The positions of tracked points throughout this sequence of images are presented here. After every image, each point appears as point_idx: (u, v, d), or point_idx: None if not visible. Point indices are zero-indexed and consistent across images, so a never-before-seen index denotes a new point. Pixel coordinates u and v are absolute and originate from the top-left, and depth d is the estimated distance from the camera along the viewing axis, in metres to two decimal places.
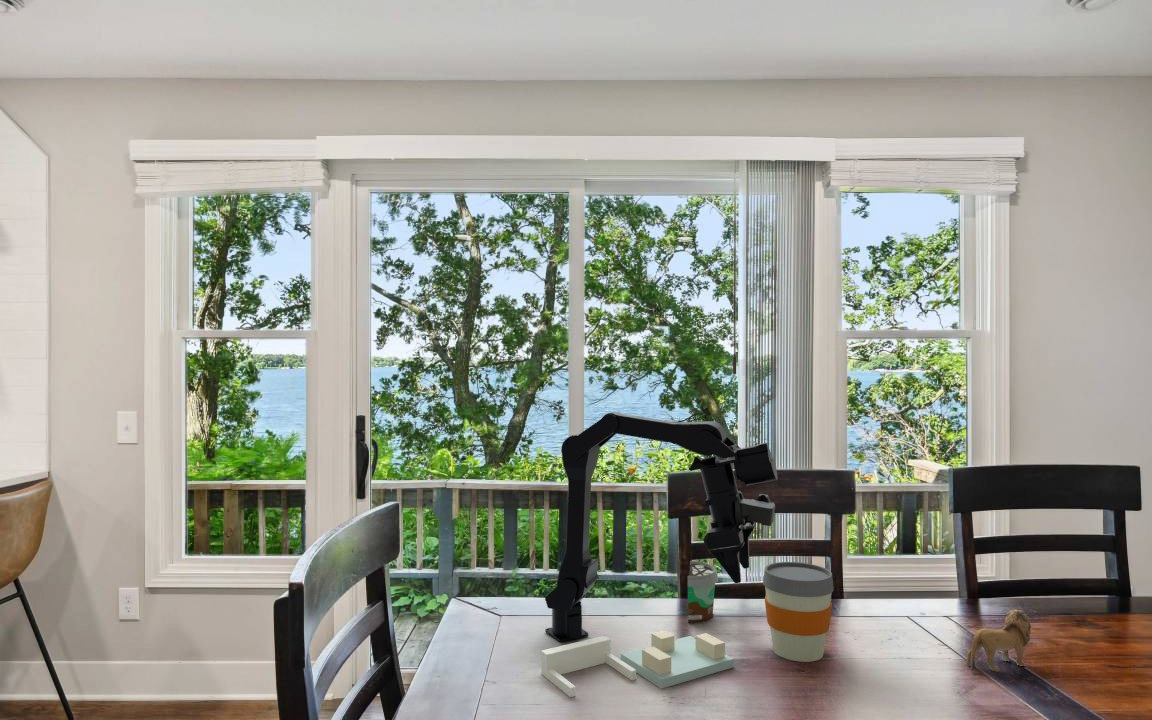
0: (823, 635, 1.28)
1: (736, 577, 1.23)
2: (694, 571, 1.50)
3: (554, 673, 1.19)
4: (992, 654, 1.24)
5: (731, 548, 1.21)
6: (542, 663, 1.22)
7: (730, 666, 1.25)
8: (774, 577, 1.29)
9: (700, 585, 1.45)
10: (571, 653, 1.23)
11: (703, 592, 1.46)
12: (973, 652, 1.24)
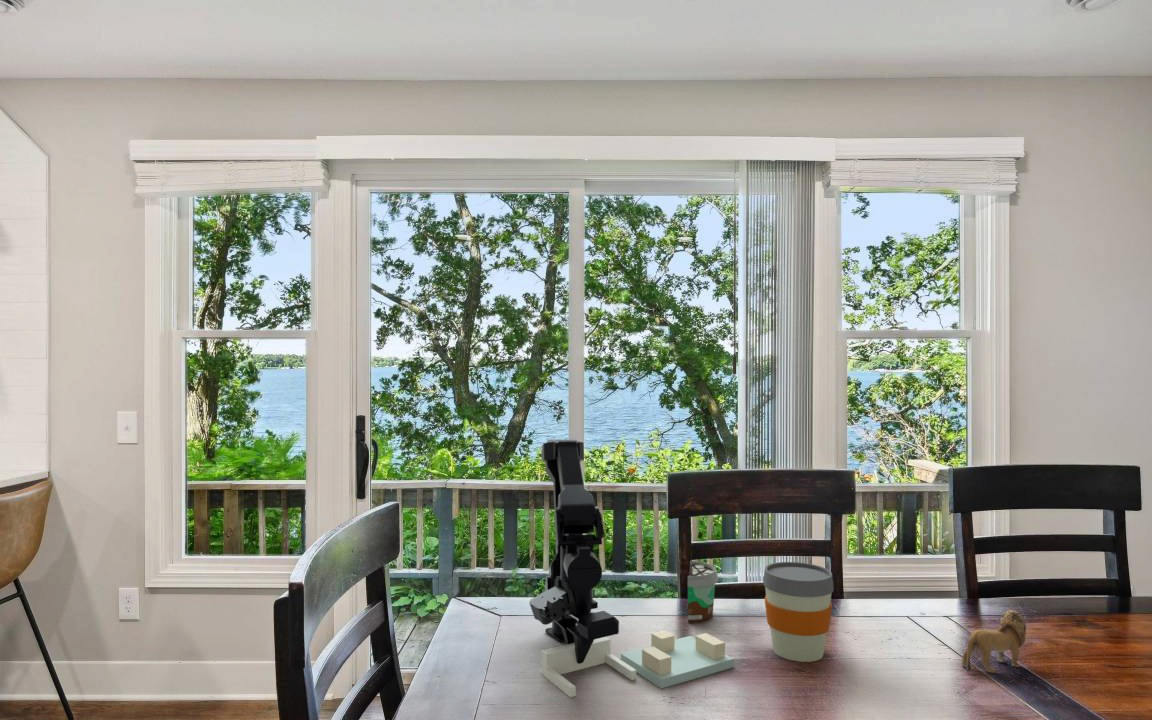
0: (823, 635, 1.28)
1: None
2: (694, 571, 1.50)
3: (554, 673, 1.19)
4: (988, 655, 1.23)
5: None
6: (542, 663, 1.22)
7: (730, 666, 1.25)
8: (774, 577, 1.29)
9: (700, 585, 1.45)
10: (571, 653, 1.23)
11: (703, 592, 1.46)
12: (969, 653, 1.24)
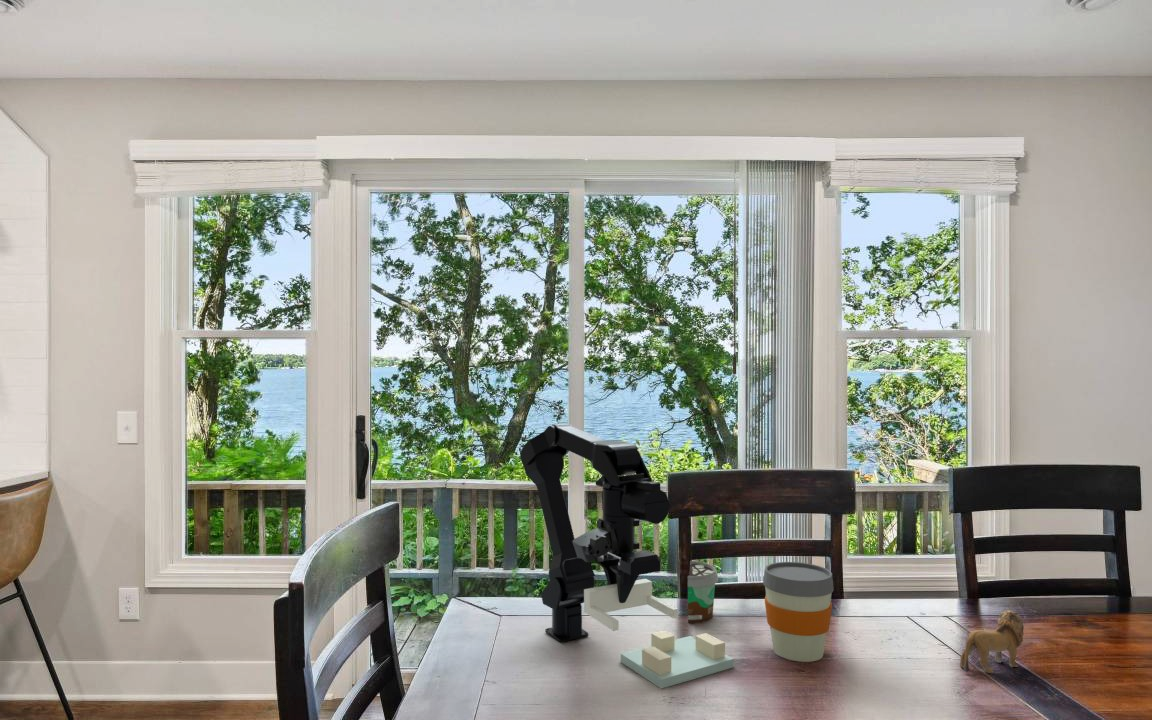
0: (823, 635, 1.28)
1: None
2: (694, 571, 1.50)
3: (597, 610, 1.21)
4: (986, 655, 1.23)
5: None
6: (584, 602, 1.25)
7: (730, 666, 1.25)
8: (774, 577, 1.29)
9: (700, 585, 1.45)
10: (613, 593, 1.25)
11: (703, 592, 1.46)
12: (967, 654, 1.24)
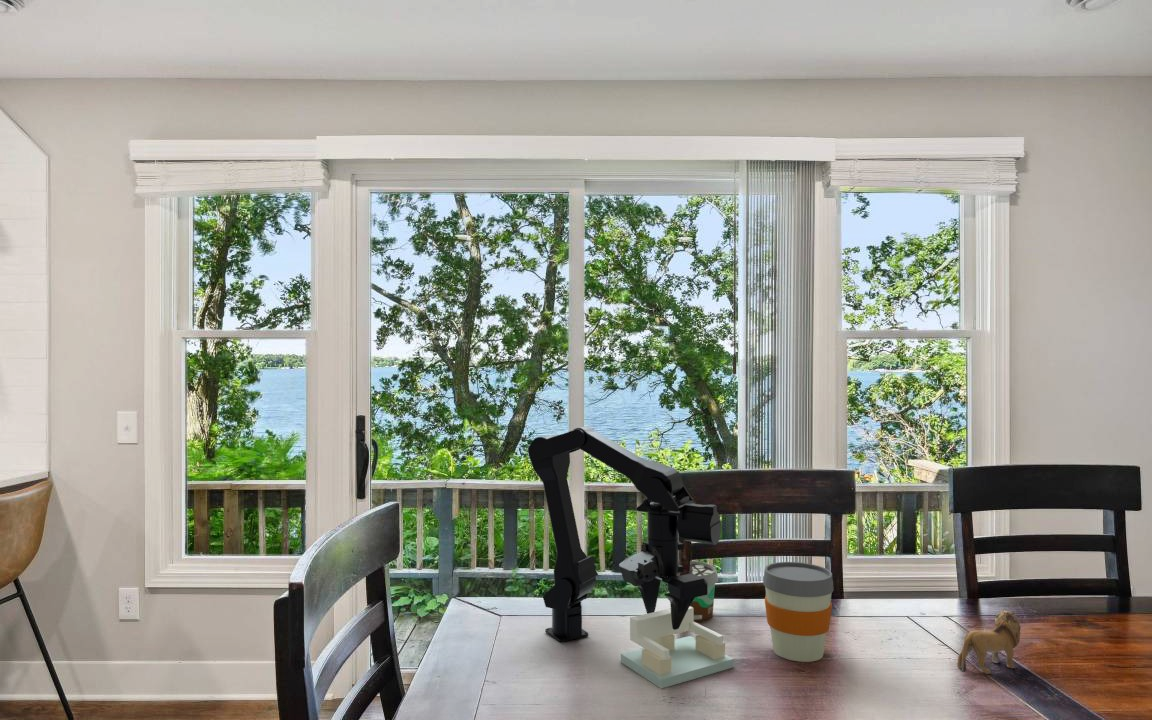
0: (823, 635, 1.28)
1: None
2: (694, 571, 1.50)
3: (645, 638, 1.24)
4: (983, 656, 1.23)
5: None
6: (630, 630, 1.27)
7: (730, 666, 1.25)
8: (774, 577, 1.29)
9: None
10: (658, 620, 1.28)
11: None
12: (964, 654, 1.23)
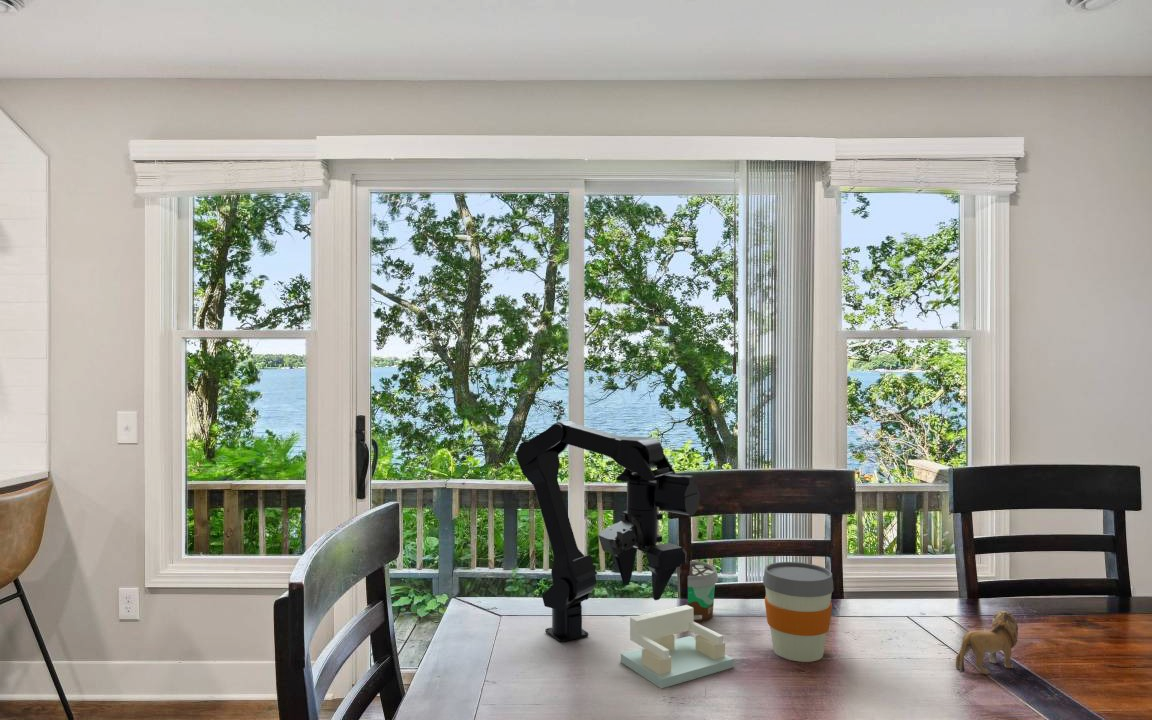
0: (823, 635, 1.28)
1: None
2: (694, 571, 1.50)
3: (645, 638, 1.24)
4: (981, 656, 1.23)
5: None
6: (630, 630, 1.27)
7: (730, 666, 1.25)
8: (774, 577, 1.29)
9: (700, 585, 1.45)
10: (658, 620, 1.28)
11: (703, 592, 1.46)
12: (962, 655, 1.23)
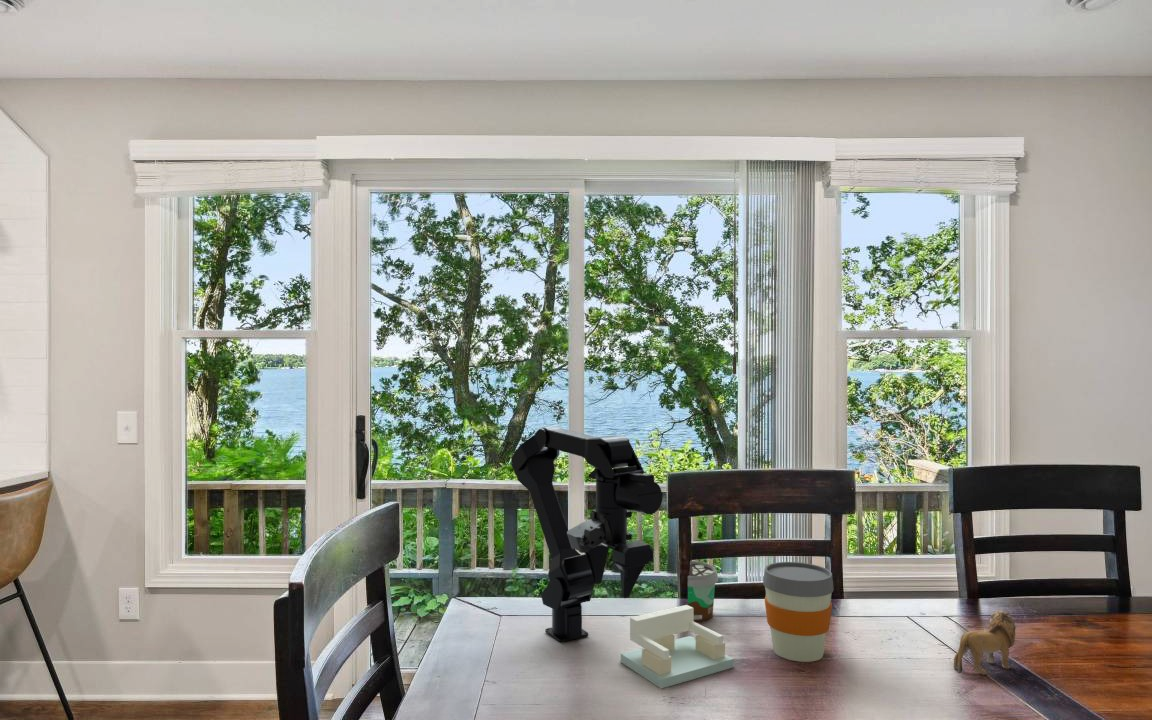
0: (823, 635, 1.28)
1: None
2: (694, 571, 1.50)
3: (645, 638, 1.24)
4: (979, 657, 1.22)
5: None
6: (630, 630, 1.27)
7: (730, 666, 1.25)
8: (774, 577, 1.29)
9: (700, 585, 1.45)
10: (658, 620, 1.28)
11: (703, 592, 1.46)
12: (960, 655, 1.23)
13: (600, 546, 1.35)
